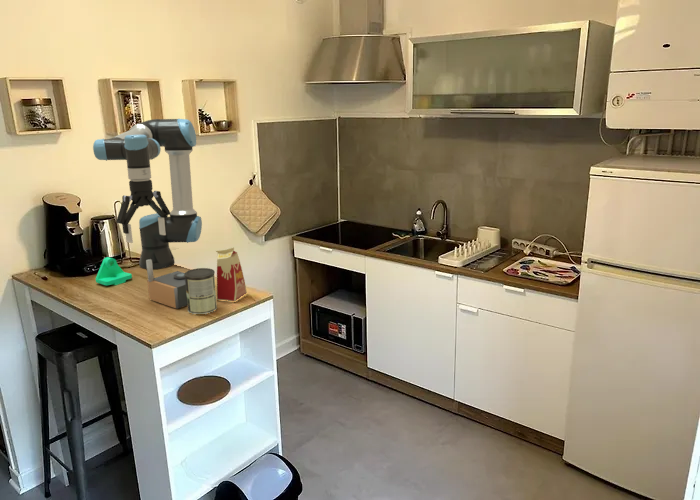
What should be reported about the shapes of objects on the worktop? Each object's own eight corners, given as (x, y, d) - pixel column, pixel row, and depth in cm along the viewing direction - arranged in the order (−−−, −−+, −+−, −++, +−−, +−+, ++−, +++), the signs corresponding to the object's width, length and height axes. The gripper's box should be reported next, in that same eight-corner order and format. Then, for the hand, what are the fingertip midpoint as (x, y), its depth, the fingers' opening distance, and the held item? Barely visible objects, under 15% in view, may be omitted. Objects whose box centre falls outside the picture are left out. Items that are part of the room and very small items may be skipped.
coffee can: (181, 310, 191) (178, 273, 188) (205, 302, 199) (202, 266, 195) (199, 317, 185) (195, 278, 181) (223, 308, 193) (220, 271, 189)
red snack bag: (247, 294, 207) (244, 244, 201) (236, 303, 198) (232, 251, 193) (225, 292, 209) (222, 243, 204) (213, 300, 201) (209, 249, 195)
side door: (152, 298, 202) (148, 258, 198) (180, 307, 193) (176, 266, 189) (147, 299, 201) (143, 259, 197) (175, 309, 191) (171, 267, 187)
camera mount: (107, 288, 215) (103, 263, 212) (96, 284, 219) (92, 260, 216) (133, 280, 225) (130, 256, 222) (122, 277, 229) (119, 253, 226)
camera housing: (179, 290, 212) (177, 268, 209) (206, 298, 203) (204, 275, 200) (152, 299, 203) (150, 276, 200) (179, 308, 194) (177, 284, 191)
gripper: (113, 184, 176) (120, 247, 182) (176, 176, 196) (181, 233, 202) (100, 183, 181) (108, 243, 186) (164, 175, 200) (169, 230, 206)
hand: (146, 238), depth 194 cm, fingers open, 13 cm apart
